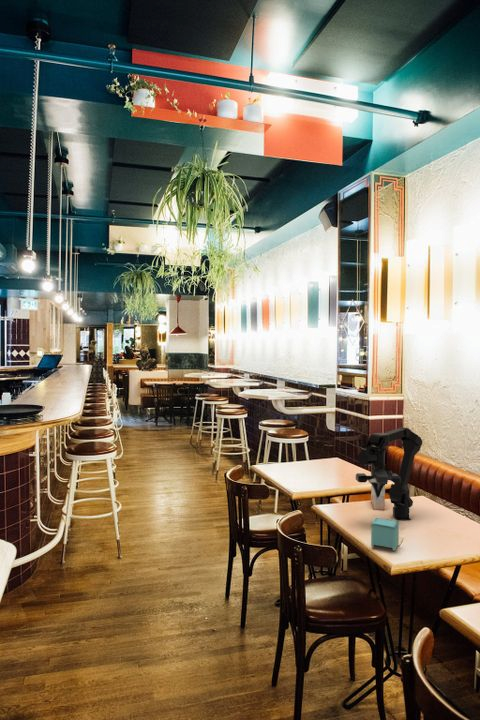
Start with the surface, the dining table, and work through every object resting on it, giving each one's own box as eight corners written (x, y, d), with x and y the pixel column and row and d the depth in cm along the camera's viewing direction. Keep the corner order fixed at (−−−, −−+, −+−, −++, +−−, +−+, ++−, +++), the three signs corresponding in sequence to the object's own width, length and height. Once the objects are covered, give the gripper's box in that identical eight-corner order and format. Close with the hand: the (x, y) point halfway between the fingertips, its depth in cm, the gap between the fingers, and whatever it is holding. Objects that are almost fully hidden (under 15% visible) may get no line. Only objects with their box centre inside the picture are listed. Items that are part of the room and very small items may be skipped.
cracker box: (385, 510, 239) (385, 468, 239) (372, 509, 240) (373, 467, 240) (382, 502, 253) (383, 461, 253) (370, 501, 254) (371, 461, 254)
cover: (375, 539, 199) (375, 517, 199) (398, 543, 195) (398, 521, 195) (371, 546, 192) (371, 523, 192) (394, 550, 188) (395, 527, 188)
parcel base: (378, 534, 207) (378, 532, 207) (403, 538, 202) (403, 536, 202) (373, 542, 198) (373, 540, 198) (399, 547, 193) (399, 544, 193)
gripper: (361, 466, 210) (361, 502, 210) (404, 466, 210) (404, 502, 210) (355, 460, 221) (355, 495, 222) (396, 460, 221) (396, 495, 221)
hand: (377, 497), depth 218 cm, fingers closed
